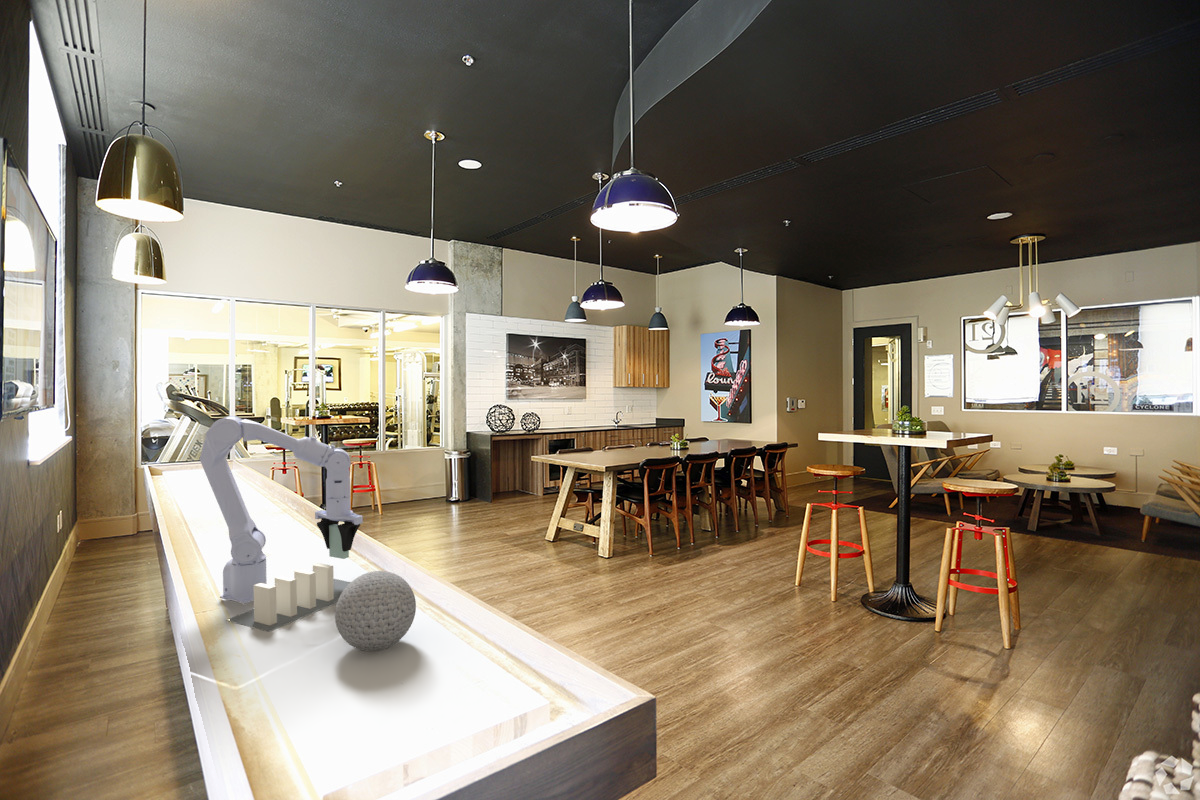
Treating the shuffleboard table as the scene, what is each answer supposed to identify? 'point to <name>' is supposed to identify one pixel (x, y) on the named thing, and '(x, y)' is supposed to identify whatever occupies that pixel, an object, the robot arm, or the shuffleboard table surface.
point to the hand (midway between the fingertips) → (338, 549)
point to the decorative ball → (375, 610)
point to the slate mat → (248, 616)
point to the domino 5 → (336, 543)
